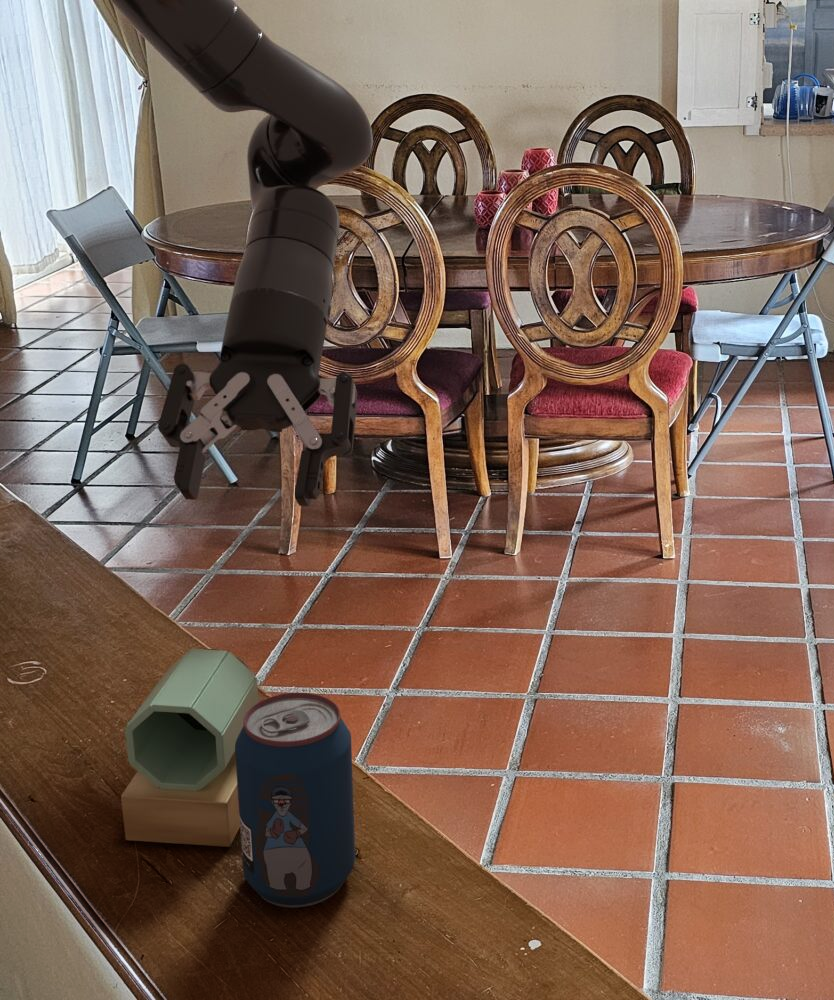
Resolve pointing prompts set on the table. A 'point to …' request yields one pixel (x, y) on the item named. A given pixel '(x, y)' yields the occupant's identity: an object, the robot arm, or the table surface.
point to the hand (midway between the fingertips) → (245, 499)
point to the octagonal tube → (191, 720)
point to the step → (183, 811)
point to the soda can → (295, 799)
